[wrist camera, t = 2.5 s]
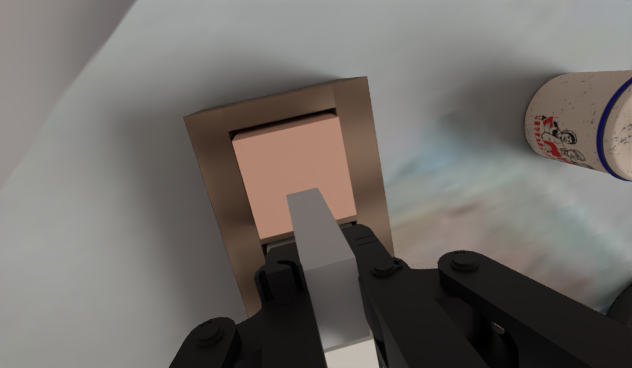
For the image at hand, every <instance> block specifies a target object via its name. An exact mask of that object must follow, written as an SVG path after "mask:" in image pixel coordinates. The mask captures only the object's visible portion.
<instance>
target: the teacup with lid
mask: <svg viewBox="0 0 632 368" xmlns="http://www.w3.org/2000/svg"><path fill="white" fill-rule="evenodd" d="M525 134H526V138H527V141H528V143H529V144H530V146H531V147H532V149H533V150H534V151H535V152H537V153H538V154H539V155H541V156H544V157H546V158H550V159H554V160H558V161H562V162H566V163H569V164H573V165H577V166H581V167H585V168H589V169H593V170H597V171H601V172H605V173H609V174H611V175H612V176H614V177H616V178H618V179H621V180H624V181H632V70H626V71H602V72H579V73H566V74H562V75H559V76H557V77H555V78H553V79H551V80H550V81H548V82H547V83H546V84H544V85H543V86H542V87H541V88H540V89H539V90H538V91H537V93H536V94H535V95H534V97H533V99H532V100H531V102H530V104H529V106H528V109H527V112H526V116H525Z"/></svg>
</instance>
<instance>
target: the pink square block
mask: <svg viewBox="0 0 632 368" xmlns="http://www.w3.org/2000/svg"><path fill="white" fill-rule="evenodd" d="M232 144H233V147H234V150H235V154H236V157H237V161H238V164H239V168H240V171H241V175H242V178H243V182H244V185H245V189H246V192H247V196H248V199H249V203H250V206H251V209H252V213H253V216H254V220H255V223H256V227H257V230H258V234H259V237H260V239H263V238H267V237H271V236H275V235H279V234H283V233H287V232H291V231H294V230H293V226H292V221H291V216H290V212H289V207H288V202H287V198H286V195H288V194H292V193H296V192H300V191H305V190H309V189H313V188H317V187H318V189H319V191H320V192H321V194H322V196H323V198H324V200H325V202H326V204H327V205H328V207H329V209H330V211H331V213H332V215H333V217H334V218H335V220H338V219H342V218H345V217H349V216H353V215H357V213H356V208H355V202H354V197H353V191H352V186H351V181H350V175H349V170H348V164H347V159H346V154H345V148H344V143H343V137H342V132H341V126H340V121H339V117H338V116H335V115H333V114H331V113H328V112H326V111H325V112H320V113H316V114H312V115H307V116H303V117H299V118H294V119H290V120H285V121H281V122H277V123H272V124H268V125H263V126H259V127H255V128H250V129H246V130H241V131H238V132H237V134H236V135H235V137H234V139H233V141H232Z"/></svg>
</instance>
